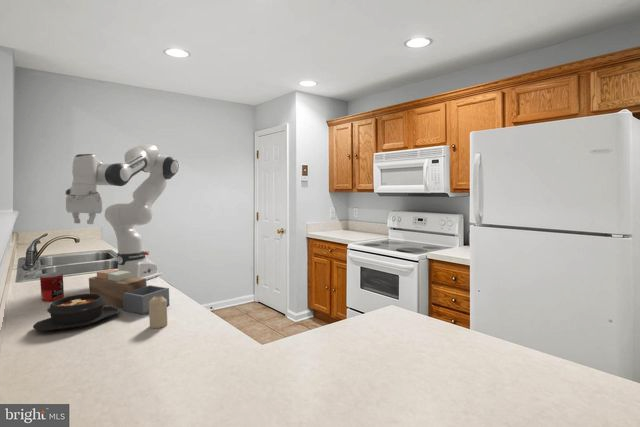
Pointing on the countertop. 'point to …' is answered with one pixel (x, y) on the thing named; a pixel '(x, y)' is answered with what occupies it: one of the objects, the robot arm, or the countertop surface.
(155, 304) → the candle
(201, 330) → the countertop surface
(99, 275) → the tile terracotta
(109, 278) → the tile sage
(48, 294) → the canned food
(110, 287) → the brown wooden block
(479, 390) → the countertop surface
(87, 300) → the casserole
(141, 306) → the box
